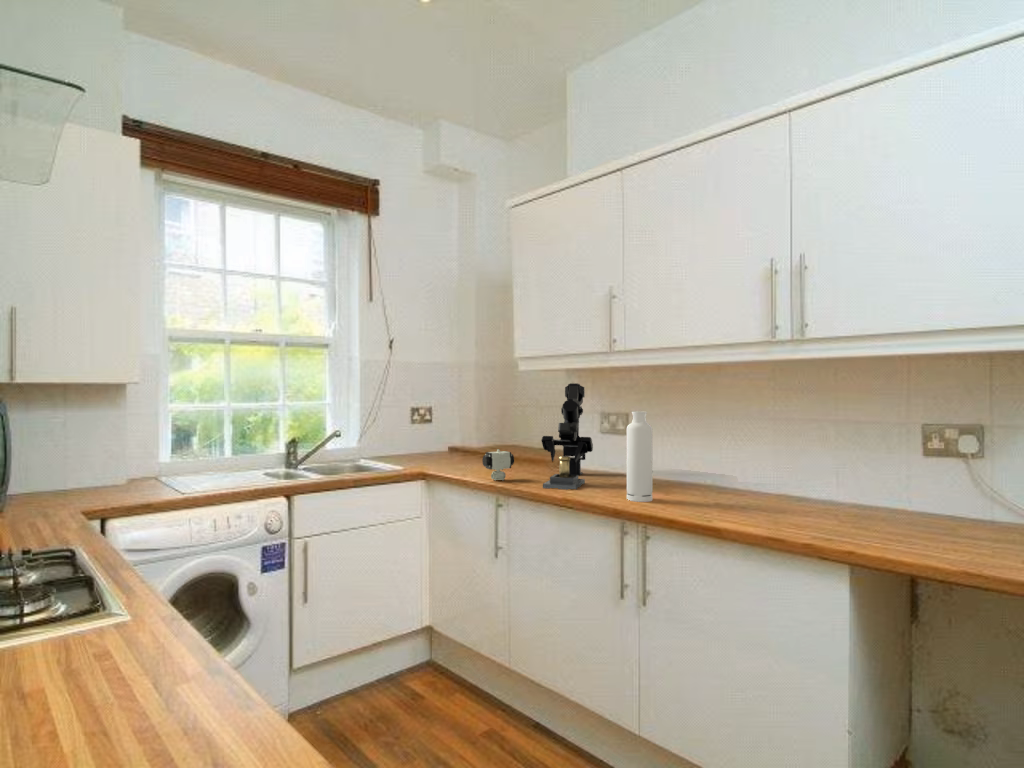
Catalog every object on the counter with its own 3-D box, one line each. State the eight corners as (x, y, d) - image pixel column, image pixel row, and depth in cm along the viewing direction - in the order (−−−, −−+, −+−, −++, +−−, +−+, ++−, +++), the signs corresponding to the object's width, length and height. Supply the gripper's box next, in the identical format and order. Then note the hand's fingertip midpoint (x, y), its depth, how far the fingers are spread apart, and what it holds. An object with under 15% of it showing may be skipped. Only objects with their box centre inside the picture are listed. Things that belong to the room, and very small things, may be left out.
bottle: (628, 496, 188) (628, 411, 188) (653, 498, 185) (653, 411, 186) (624, 500, 180) (624, 412, 180) (651, 502, 177) (651, 412, 178)
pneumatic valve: (482, 480, 222) (482, 449, 222) (509, 478, 227) (509, 448, 227) (487, 482, 217) (487, 450, 217) (515, 480, 222) (515, 449, 222)
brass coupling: (560, 480, 212) (560, 456, 213) (571, 480, 211) (571, 456, 211) (557, 482, 208) (557, 457, 209) (568, 482, 207) (568, 457, 207)
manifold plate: (553, 481, 219) (553, 472, 219) (584, 483, 215) (584, 473, 215) (542, 488, 204) (542, 478, 204) (575, 489, 200) (575, 479, 200)
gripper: (542, 414, 217) (534, 446, 206) (591, 415, 211) (585, 447, 200) (547, 433, 224) (540, 465, 214) (595, 435, 218) (589, 467, 208)
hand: (563, 461), depth 209 cm, fingers open, 8 cm apart
